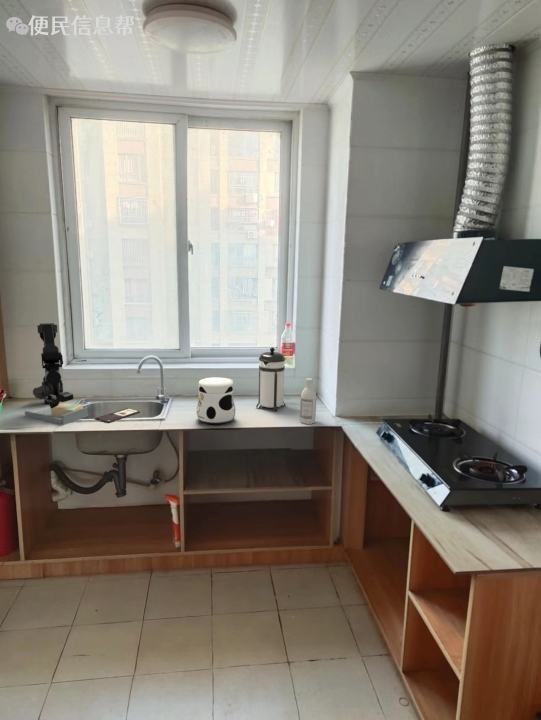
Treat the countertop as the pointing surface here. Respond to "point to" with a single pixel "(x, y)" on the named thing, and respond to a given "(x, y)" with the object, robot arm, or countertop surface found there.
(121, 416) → the chocolate bar
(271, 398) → the coffee press
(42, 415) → the grey tray
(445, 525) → the countertop surface
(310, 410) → the bath foam
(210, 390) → the milk container
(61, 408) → the carton
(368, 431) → the countertop surface
